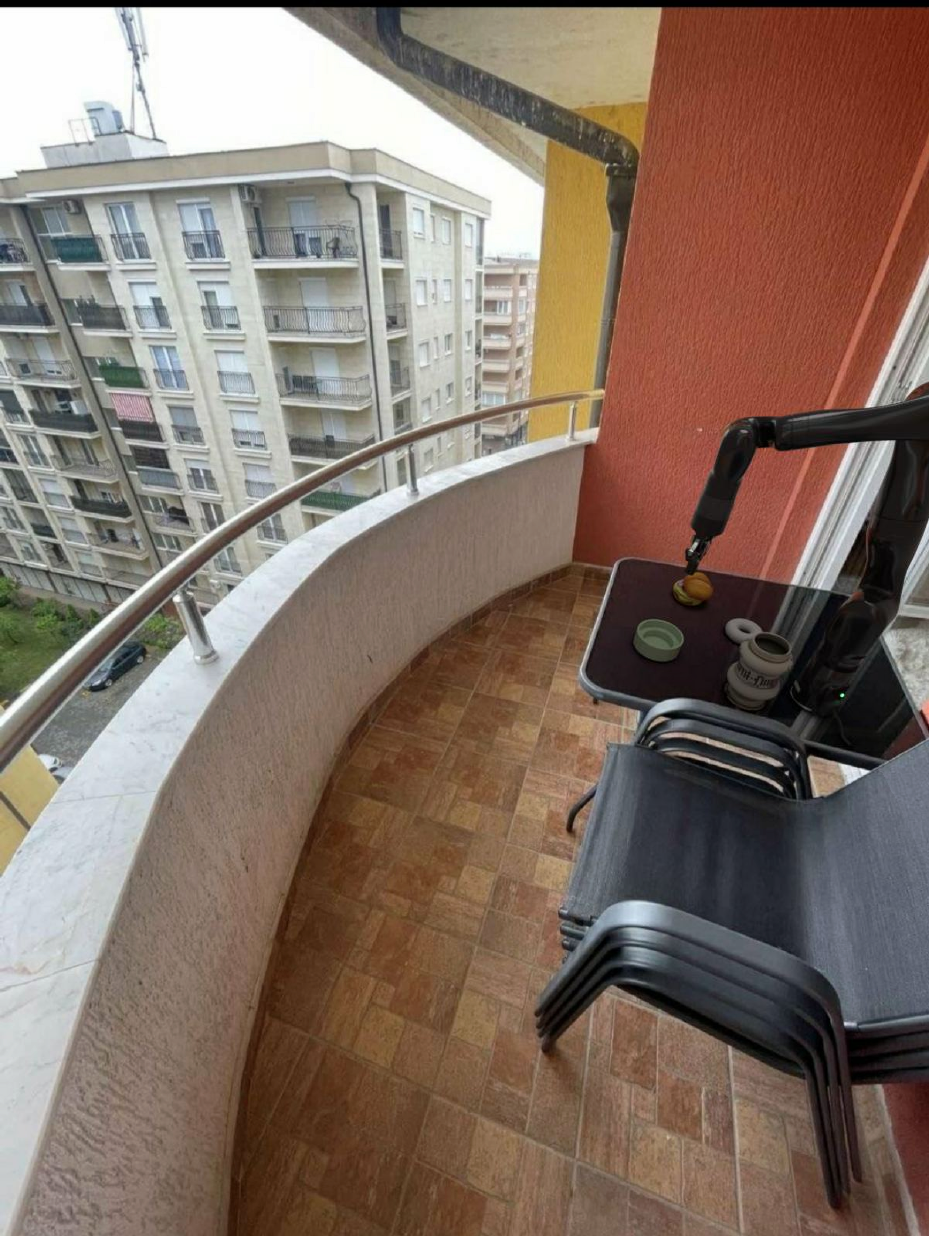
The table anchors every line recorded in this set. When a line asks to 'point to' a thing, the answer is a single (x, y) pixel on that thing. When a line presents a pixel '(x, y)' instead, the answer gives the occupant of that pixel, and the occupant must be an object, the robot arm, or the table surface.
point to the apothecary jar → (758, 670)
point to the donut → (741, 624)
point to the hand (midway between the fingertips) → (689, 573)
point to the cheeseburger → (693, 589)
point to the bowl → (658, 640)
